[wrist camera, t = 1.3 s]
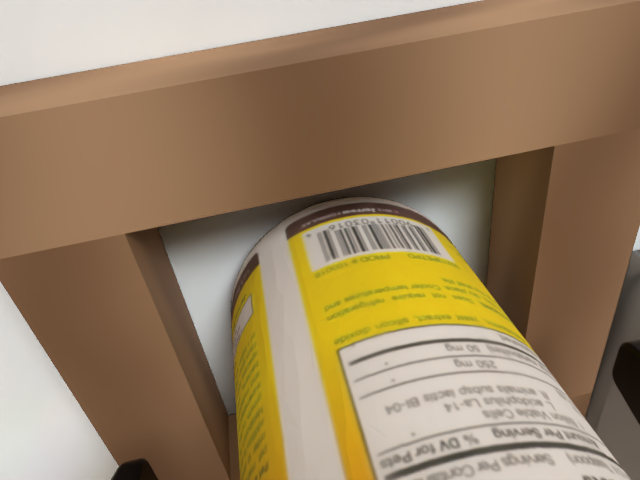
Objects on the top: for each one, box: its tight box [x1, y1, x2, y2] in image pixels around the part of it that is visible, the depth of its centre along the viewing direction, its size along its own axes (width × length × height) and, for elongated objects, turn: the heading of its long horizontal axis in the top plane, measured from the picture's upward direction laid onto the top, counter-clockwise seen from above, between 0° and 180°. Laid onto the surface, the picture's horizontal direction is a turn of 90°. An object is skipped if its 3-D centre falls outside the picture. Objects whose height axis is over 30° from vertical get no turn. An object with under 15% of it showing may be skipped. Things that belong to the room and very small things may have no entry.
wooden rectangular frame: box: [0, 0, 640, 480], centre depth 11 cm, size 12×12×2 cm
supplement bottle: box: [231, 197, 631, 480], centre depth 8 cm, size 6×6×10 cm
